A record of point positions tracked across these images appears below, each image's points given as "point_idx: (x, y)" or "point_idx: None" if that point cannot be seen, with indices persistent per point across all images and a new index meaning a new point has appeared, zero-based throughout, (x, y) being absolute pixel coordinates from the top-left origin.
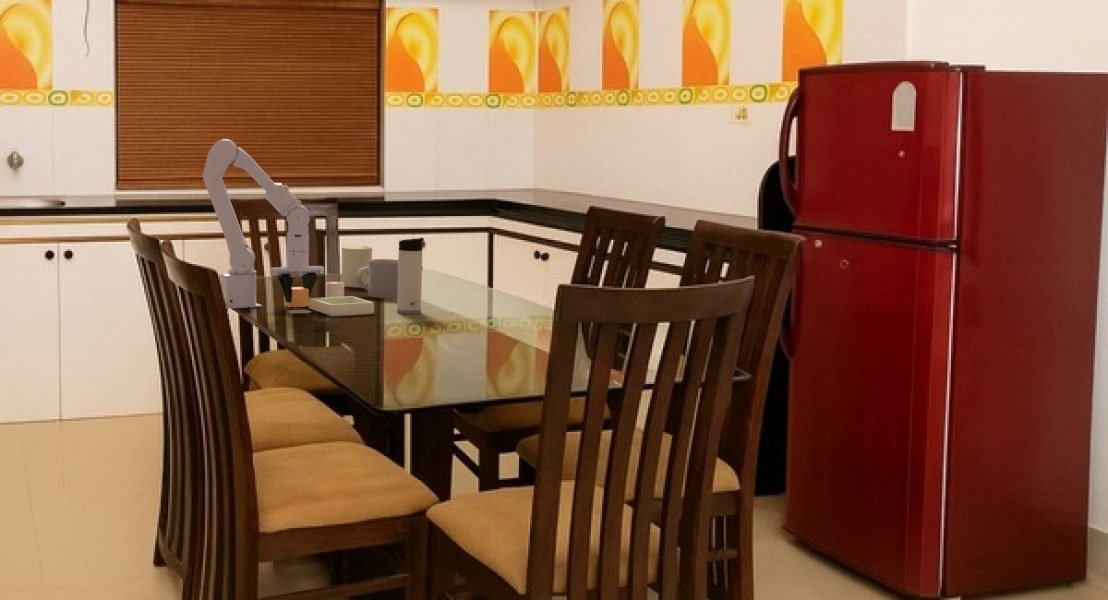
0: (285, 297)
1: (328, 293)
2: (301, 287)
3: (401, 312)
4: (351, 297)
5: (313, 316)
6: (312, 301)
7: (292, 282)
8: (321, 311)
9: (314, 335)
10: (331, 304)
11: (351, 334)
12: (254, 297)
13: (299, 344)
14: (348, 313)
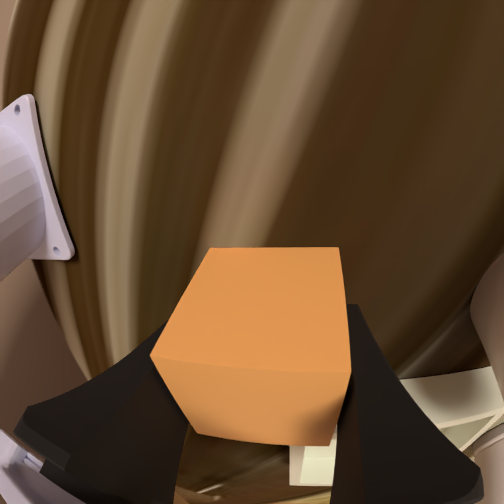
0: None
1: (495, 368)
2: (322, 397)
3: (472, 446)
4: (491, 416)
5: (248, 444)
6: None
7: (175, 477)
8: None
9: (195, 482)
10: (297, 484)
11: (247, 494)
12: (16, 260)
13: None
14: None
